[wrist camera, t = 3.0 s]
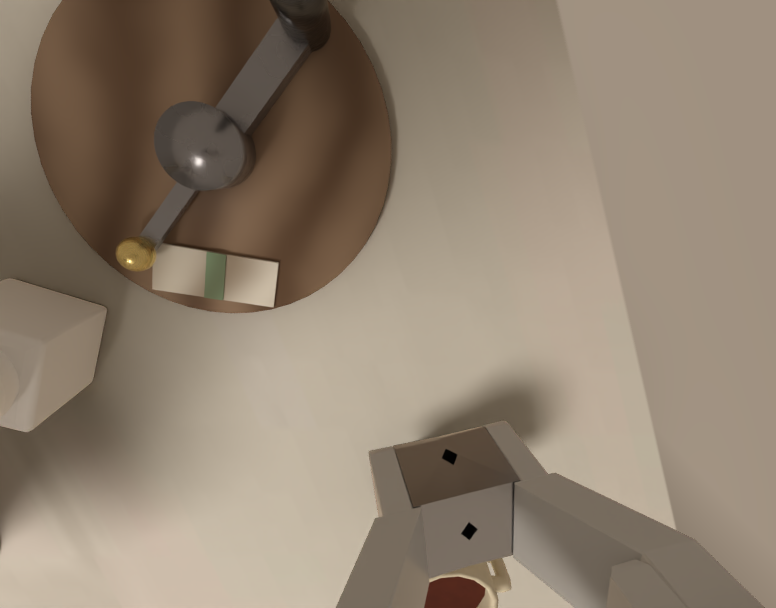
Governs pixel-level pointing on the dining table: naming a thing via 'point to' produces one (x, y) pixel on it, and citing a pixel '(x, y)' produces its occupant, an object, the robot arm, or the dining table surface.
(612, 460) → the dining table surface
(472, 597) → the character mug
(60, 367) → the medicine bottle
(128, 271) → the stand
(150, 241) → the crank lever
